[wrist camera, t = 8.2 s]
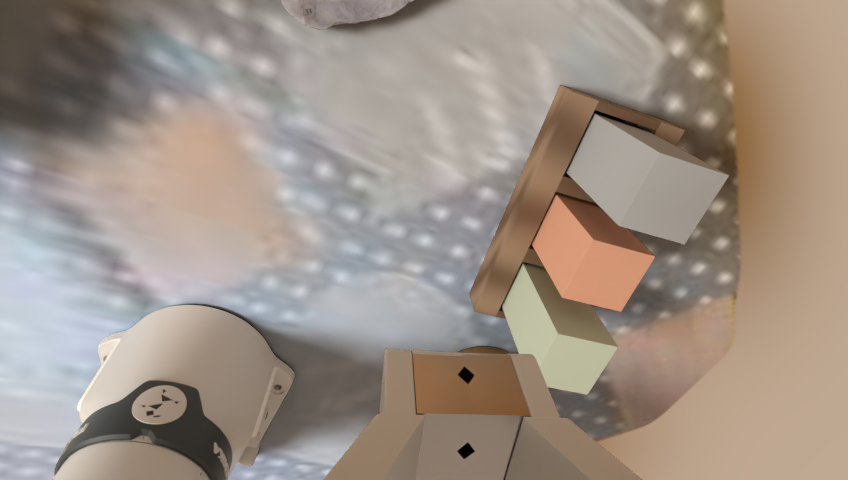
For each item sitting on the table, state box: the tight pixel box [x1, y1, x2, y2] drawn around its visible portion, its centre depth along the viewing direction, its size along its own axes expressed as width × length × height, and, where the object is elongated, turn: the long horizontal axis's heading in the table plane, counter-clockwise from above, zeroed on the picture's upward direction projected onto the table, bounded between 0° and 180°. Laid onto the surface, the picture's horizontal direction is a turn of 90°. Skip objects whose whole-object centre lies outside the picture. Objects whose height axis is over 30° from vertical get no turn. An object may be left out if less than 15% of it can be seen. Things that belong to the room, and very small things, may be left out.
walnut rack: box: [469, 85, 685, 319], centre depth 42 cm, size 21×10×3 cm, turn 162°
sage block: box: [502, 262, 618, 395], centre depth 40 cm, size 5×5×10 cm
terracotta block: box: [531, 192, 655, 312], centre depth 38 cm, size 5×5×10 cm
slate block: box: [566, 113, 729, 245], centre depth 34 cm, size 5×5×10 cm
